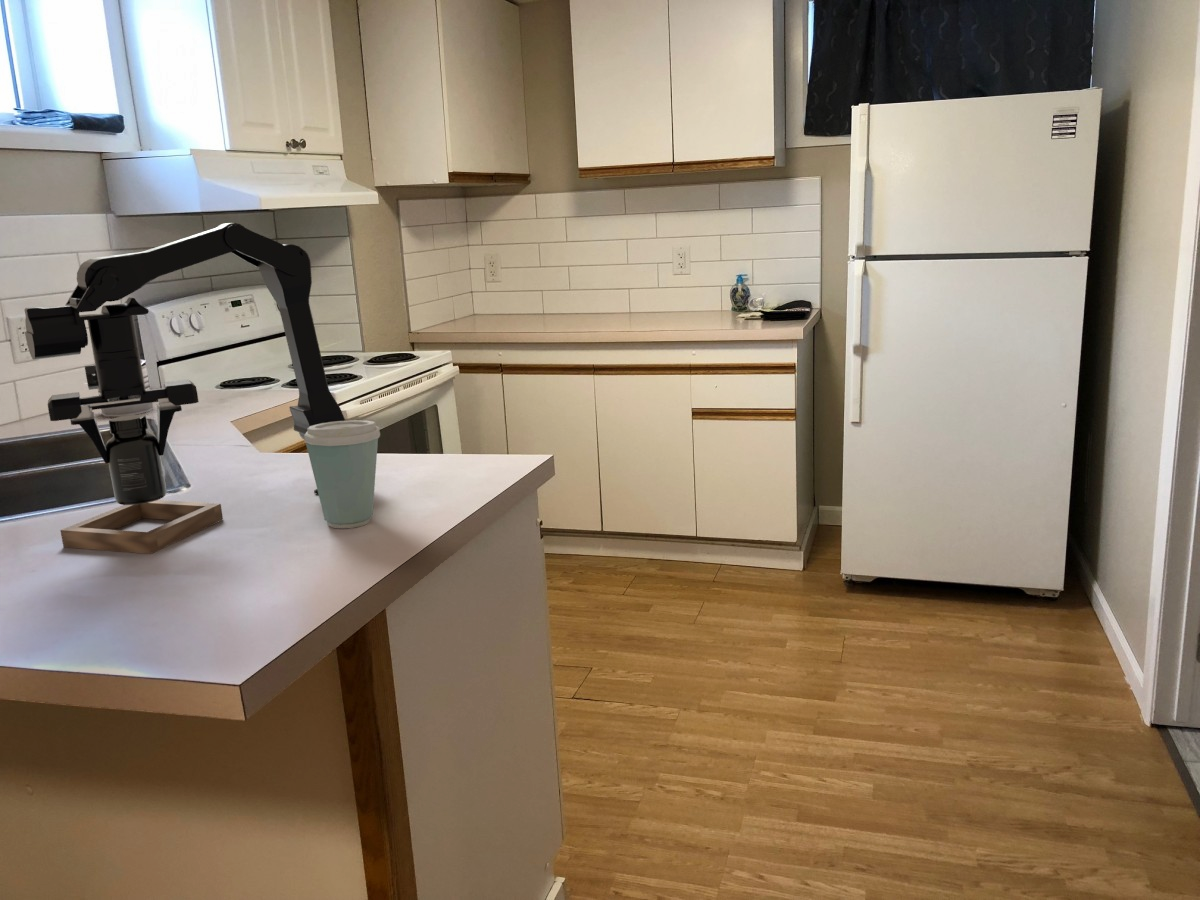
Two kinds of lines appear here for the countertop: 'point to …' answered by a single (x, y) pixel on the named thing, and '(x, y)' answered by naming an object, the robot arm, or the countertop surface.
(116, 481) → the supplement bottle
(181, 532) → the square wooden frame
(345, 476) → the disposable coffee cup
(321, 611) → the countertop surface
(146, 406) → the white ridged cylinder
